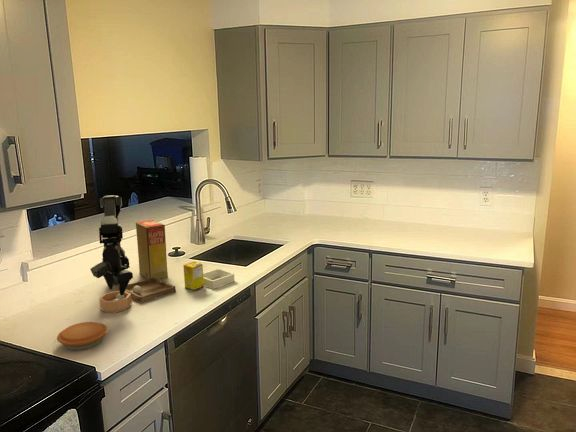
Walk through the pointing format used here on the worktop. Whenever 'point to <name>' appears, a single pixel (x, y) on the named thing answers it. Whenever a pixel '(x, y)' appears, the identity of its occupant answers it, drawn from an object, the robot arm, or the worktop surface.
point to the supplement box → (193, 276)
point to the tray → (150, 289)
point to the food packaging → (151, 249)
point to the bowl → (115, 302)
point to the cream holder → (226, 279)
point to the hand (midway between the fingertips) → (116, 292)
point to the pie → (82, 335)
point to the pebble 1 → (119, 296)
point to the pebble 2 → (137, 289)
